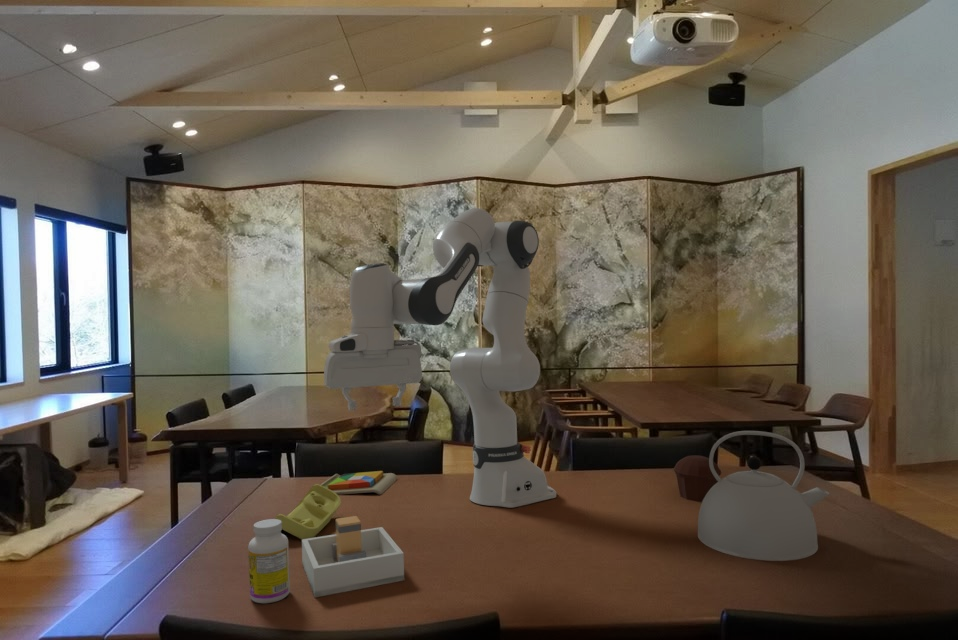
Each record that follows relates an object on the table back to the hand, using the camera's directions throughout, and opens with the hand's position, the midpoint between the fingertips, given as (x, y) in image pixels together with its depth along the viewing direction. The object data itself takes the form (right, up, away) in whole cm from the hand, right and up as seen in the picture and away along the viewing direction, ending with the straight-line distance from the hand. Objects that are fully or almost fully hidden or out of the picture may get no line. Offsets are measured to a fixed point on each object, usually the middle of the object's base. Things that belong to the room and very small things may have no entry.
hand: (374, 407), depth 135 cm
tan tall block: (-3, -28, -11) cm, 30 cm away
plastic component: (-18, -30, +15) cm, 38 cm away
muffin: (+77, -27, +30) cm, 87 cm away
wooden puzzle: (-13, -30, +49) cm, 59 cm away
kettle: (+80, -27, -2) cm, 84 cm away
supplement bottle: (-15, -30, -22) cm, 40 cm away
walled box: (-2, -29, -13) cm, 32 cm away
